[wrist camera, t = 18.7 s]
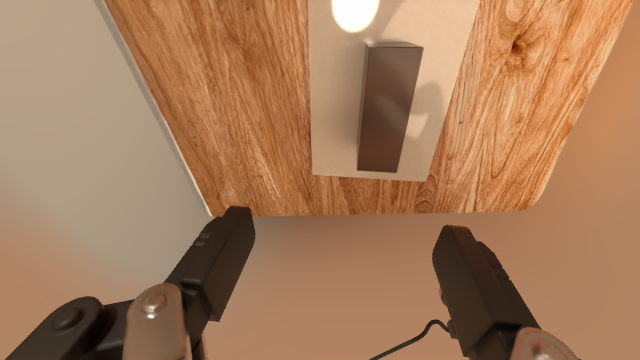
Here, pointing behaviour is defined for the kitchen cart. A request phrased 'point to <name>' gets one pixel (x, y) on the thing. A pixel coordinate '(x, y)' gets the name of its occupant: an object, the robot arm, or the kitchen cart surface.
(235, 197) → the kitchen cart surface
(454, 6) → the tile
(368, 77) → the dark brown block
